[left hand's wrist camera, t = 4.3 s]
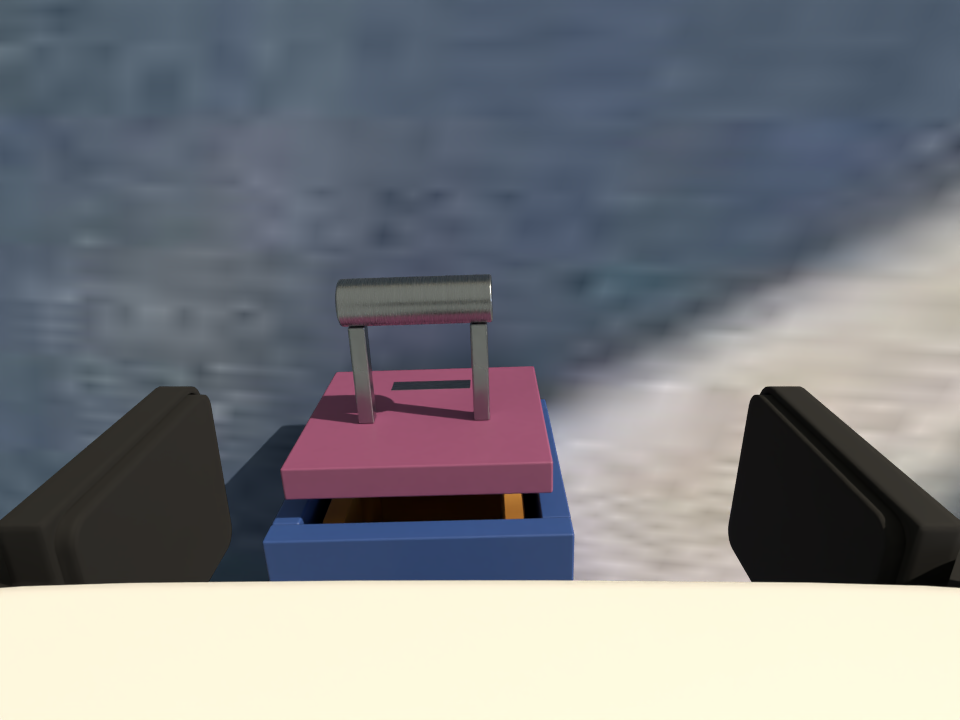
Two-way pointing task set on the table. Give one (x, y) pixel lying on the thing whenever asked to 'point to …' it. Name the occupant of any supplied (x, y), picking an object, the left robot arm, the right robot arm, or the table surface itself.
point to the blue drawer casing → (425, 543)
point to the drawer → (421, 418)
